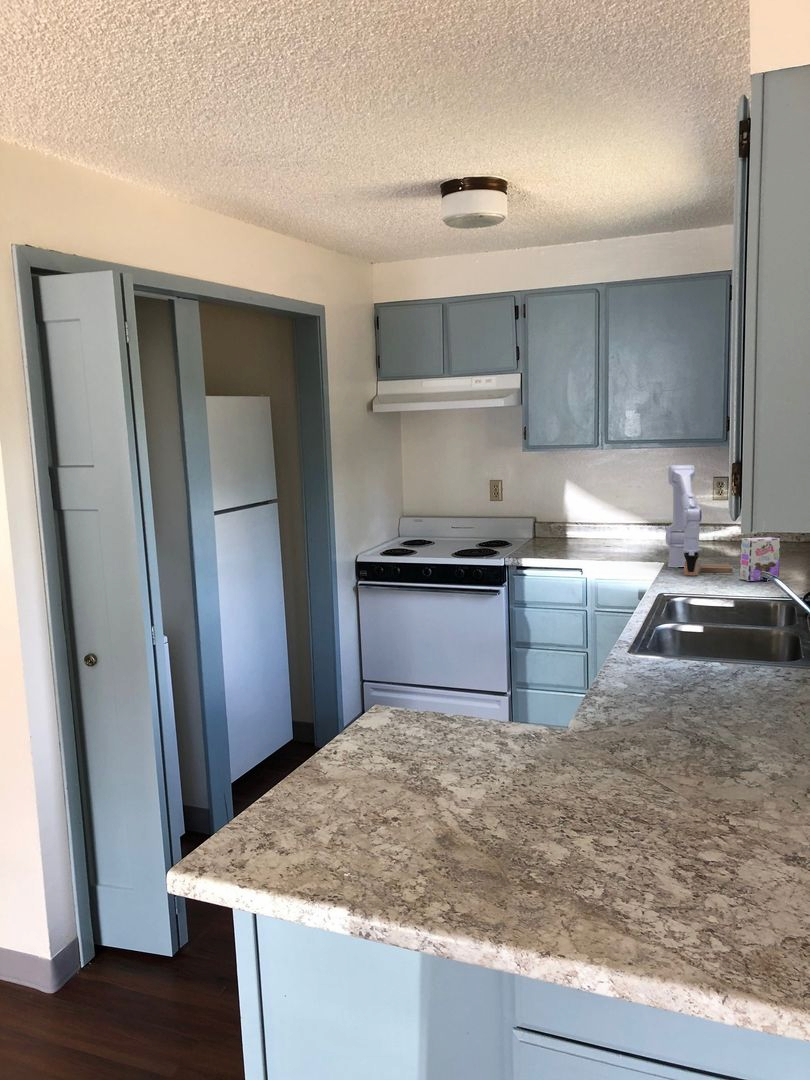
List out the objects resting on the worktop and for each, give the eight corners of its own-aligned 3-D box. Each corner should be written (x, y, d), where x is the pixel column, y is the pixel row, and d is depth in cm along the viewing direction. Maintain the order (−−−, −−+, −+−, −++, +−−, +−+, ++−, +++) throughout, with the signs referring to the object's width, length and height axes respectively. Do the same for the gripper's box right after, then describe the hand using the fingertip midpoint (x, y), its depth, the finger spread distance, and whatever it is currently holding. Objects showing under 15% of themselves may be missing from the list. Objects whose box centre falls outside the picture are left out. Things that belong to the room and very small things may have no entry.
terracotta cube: (684, 573, 343) (684, 561, 342) (697, 573, 341) (697, 561, 341) (684, 575, 338) (684, 562, 337) (697, 575, 336) (697, 563, 336)
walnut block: (699, 570, 353) (700, 563, 352) (730, 571, 349) (730, 564, 349) (700, 574, 341) (701, 567, 341) (732, 575, 338) (732, 568, 337)
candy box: (748, 582, 319) (750, 539, 317) (738, 580, 324) (740, 538, 323) (779, 580, 322) (781, 538, 321) (769, 578, 328) (770, 536, 326)
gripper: (702, 539, 330) (701, 573, 331) (701, 536, 344) (700, 568, 345) (683, 539, 332) (683, 573, 334) (683, 535, 346) (682, 568, 347)
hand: (690, 570), depth 339 cm, fingers closed on terracotta cube, 5 cm apart
